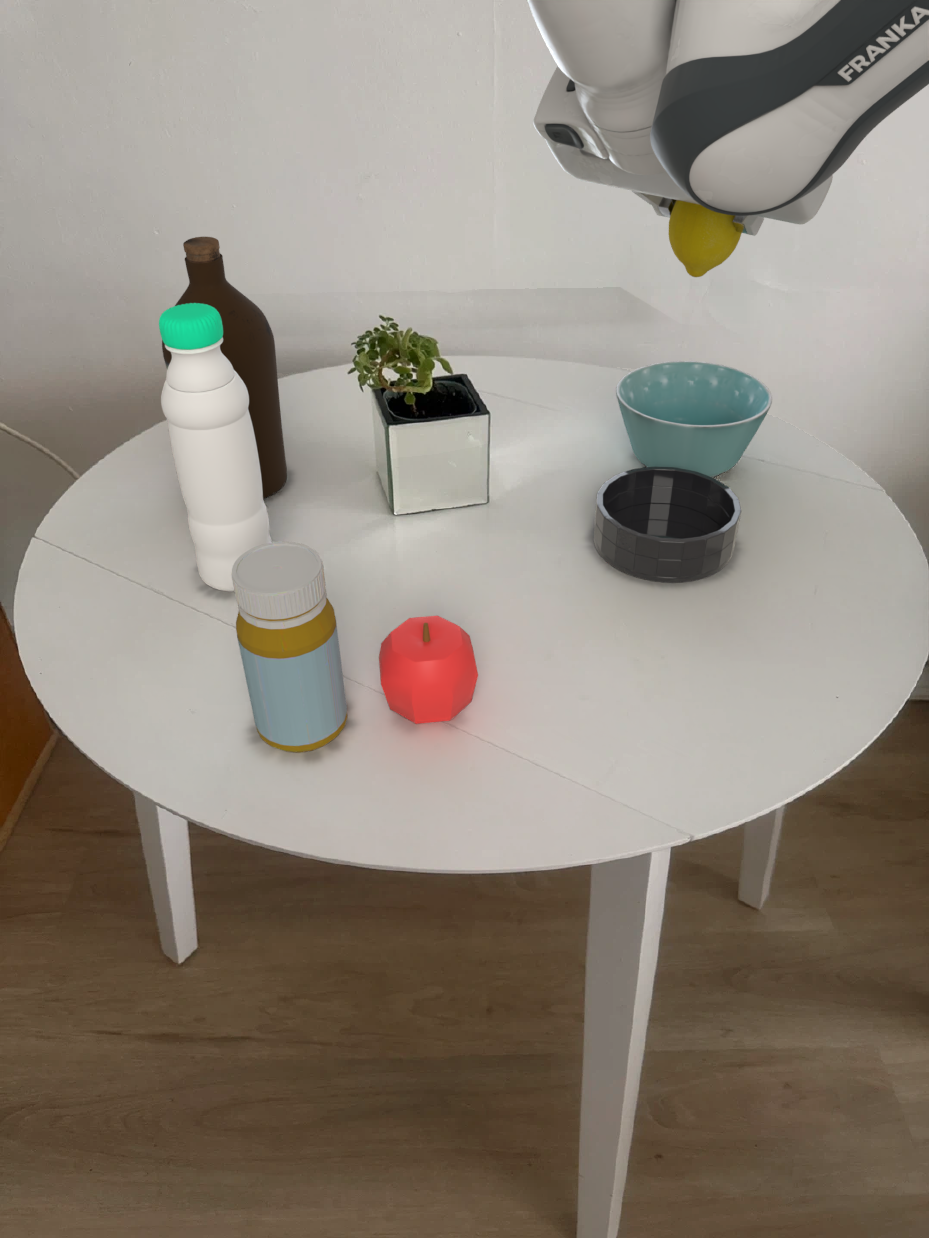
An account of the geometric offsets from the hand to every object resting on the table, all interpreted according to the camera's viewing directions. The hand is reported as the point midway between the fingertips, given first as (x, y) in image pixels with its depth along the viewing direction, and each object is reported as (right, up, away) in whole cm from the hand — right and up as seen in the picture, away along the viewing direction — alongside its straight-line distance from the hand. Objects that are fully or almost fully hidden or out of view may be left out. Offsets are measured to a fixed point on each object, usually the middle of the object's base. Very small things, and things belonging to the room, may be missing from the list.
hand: (709, 217), depth 77 cm
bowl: (+5, -14, +31) cm, 35 cm away
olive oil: (-43, -16, +29) cm, 54 cm away
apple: (-22, -38, +2) cm, 44 cm away
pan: (0, -24, +19) cm, 30 cm away
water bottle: (-40, -27, +16) cm, 51 cm away
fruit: (0, -4, +2) cm, 5 cm away
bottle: (-31, -39, 0) cm, 50 cm away
